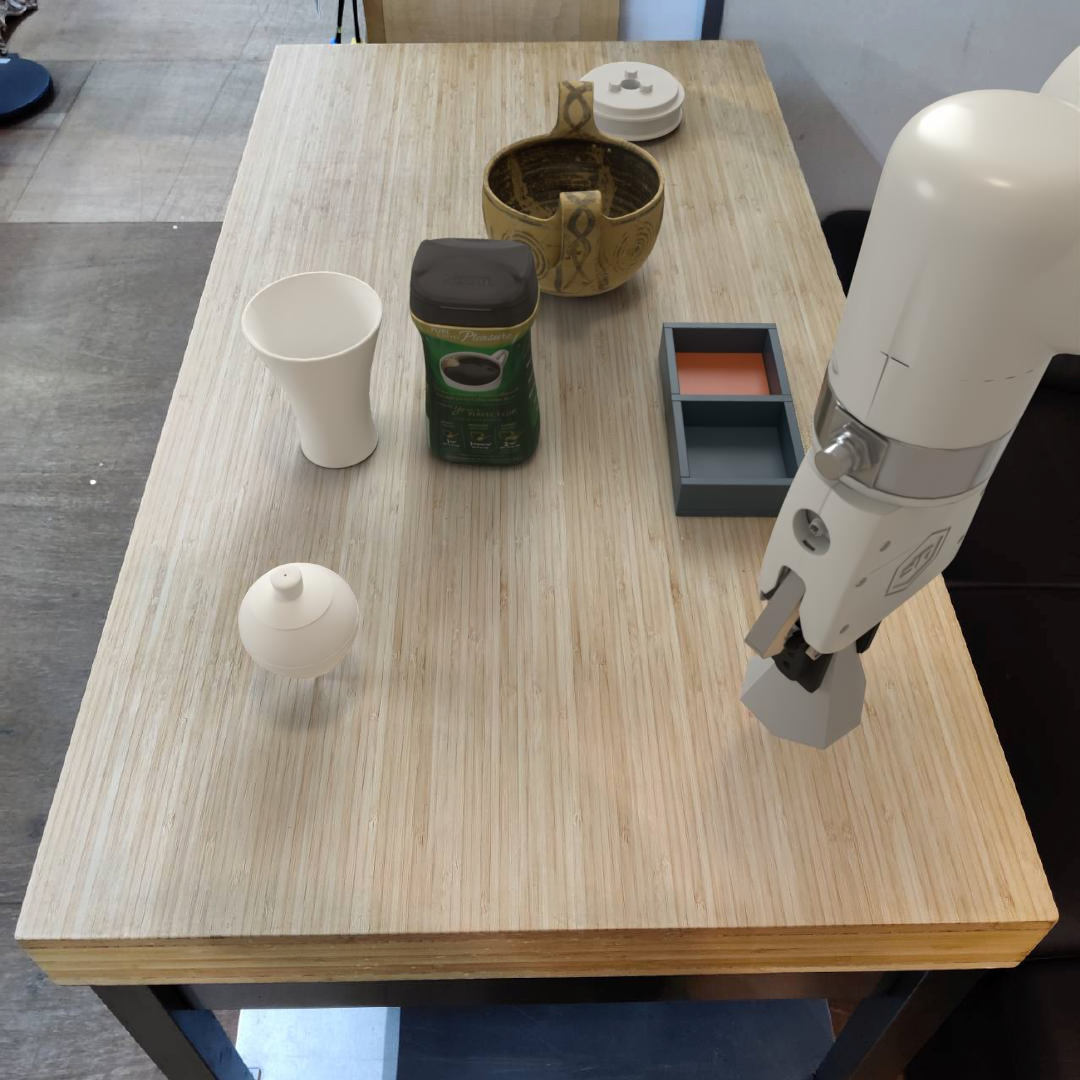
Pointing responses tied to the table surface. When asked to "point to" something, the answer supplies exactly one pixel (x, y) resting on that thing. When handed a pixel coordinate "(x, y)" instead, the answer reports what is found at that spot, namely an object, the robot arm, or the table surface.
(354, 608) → the spinning top
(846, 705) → the flask
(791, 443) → the divided tray
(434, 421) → the coffee jar
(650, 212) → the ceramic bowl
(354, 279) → the cup
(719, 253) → the table surface
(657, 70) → the lid
